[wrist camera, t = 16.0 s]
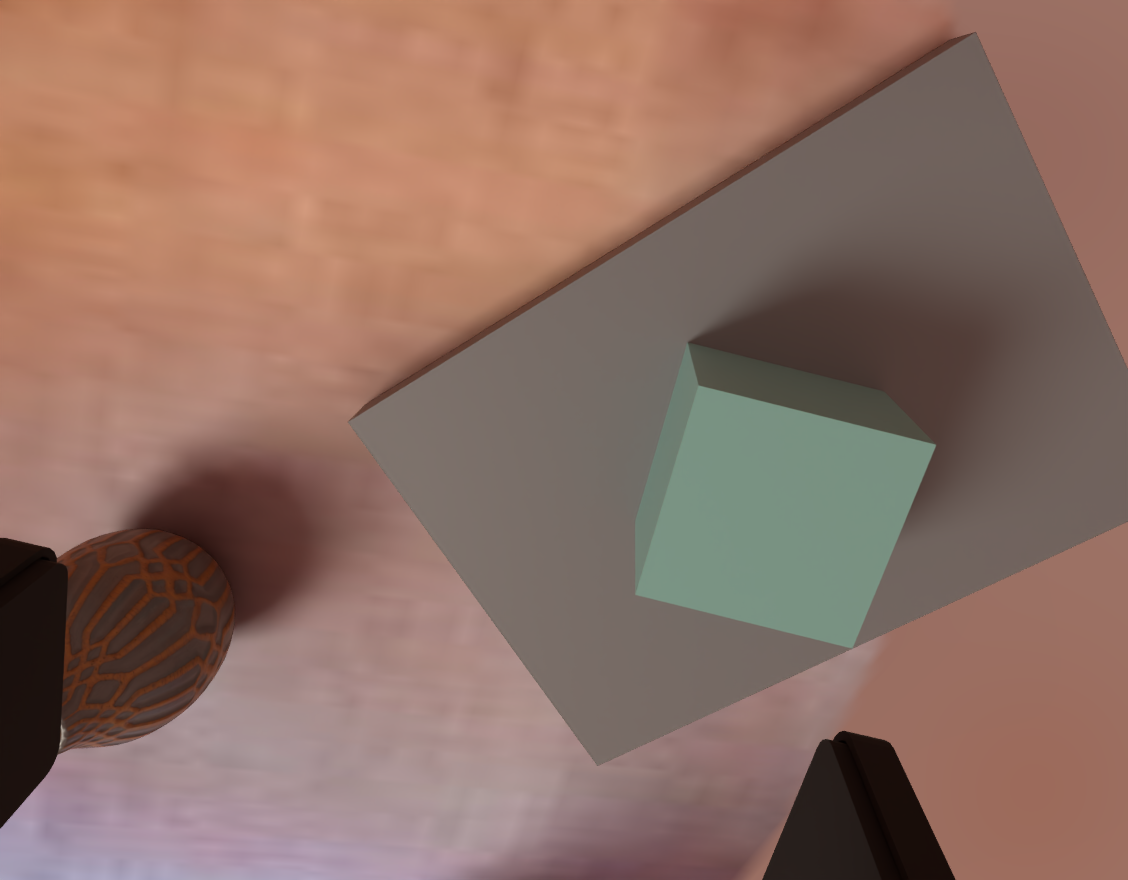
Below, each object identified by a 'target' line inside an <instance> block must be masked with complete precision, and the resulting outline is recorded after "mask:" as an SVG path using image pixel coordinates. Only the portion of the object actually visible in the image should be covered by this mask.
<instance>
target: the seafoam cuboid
mask: <svg viewBox="0 0 1128 880" xmlns="http://www.w3.org/2000/svg"><path fill="white" fill-rule="evenodd" d="M935 447H936V444H935V443H934V442H933V441H932V440H931V439H930V438H929V437H928V436H927V435H926V434H925V433H924V432H923V431H922V430H921V429H920V428H919V426H918V425H917V424H916V423H915V422H914V421H913V420H912V419H911V418H910V417H909V416H908V415H907V414H906V413H905V412H904V411H903V410H902V409H901V408H900V407H899V406H898V405H897V404H896V403H895V402H894V401H893V400H892V399H891V398H890V397H889V396H888V395H887V394H886V393H885V392H884V391H880V390H876V389H872V388H868V387H864V386H860V385H856V384H852V383H848V382H844V381H840V380H836V379H832V378H828V377H824V376H820V375H816V374H812V373H808V372H804V371H800V370H796V369H792V368H788V367H784V366H780V365H776V364H772V363H768V362H764V361H760V360H756V359H752V358H748V357H744V356H740V355H736V354H732V353H728V352H724V351H720V350H716V349H712V348H708V347H704V346H700V345H696V344H692V343H688V342H687V345H686V349H685V352H684V356H683V359H682V363H681V366H680V369H679V373H678V376H677V380H676V383H675V386H674V390H673V393H672V397H671V400H670V404H669V407H668V410H667V414H666V417H665V421H664V424H663V428H662V431H661V434H660V438H659V441H658V445H657V448H656V452H655V455H654V458H653V462H652V465H651V469H650V472H649V475H648V479H647V482H646V486H645V489H644V493H643V496H642V499H641V503H640V506H639V510H638V513H637V517H636V520H635V595H638V596H642V597H646V598H650V599H654V600H658V601H662V602H666V603H670V604H674V605H678V606H683V607H687V608H691V609H695V610H699V611H703V612H707V613H711V614H715V615H719V616H723V617H727V618H731V619H735V620H739V621H743V622H747V623H751V624H755V625H759V626H763V627H767V628H771V629H775V630H779V631H783V632H787V633H791V634H796V635H800V636H804V637H808V638H812V639H816V640H820V641H824V642H828V643H832V644H836V645H840V646H844V647H848V648H853V646H854V644H855V641H856V639H857V636H858V634H859V631H860V629H861V627H862V624H863V622H864V619H865V617H866V614H867V612H868V610H869V607H870V605H871V602H872V600H873V597H874V595H875V593H876V590H877V588H878V585H879V583H880V580H881V578H882V576H883V573H884V571H885V568H886V566H887V563H888V561H889V559H890V556H891V554H892V551H893V549H894V546H895V544H896V542H897V539H898V537H899V534H900V532H901V529H902V527H903V525H904V522H905V520H906V517H907V515H908V512H909V510H910V508H911V505H912V503H913V500H914V498H915V495H916V493H917V491H918V488H919V486H920V483H921V481H922V478H923V476H924V474H925V471H926V469H927V466H928V464H929V461H930V459H931V457H932V454H933V452H934V449H935Z"/></svg>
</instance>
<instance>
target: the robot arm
mask: <svg viewBox="0 0 1128 880" xmlns="http://www.w3.org/2000/svg"><path fill="white" fill-rule="evenodd" d="M67 590H68V570H67V568H66V566H65V565H63V564H61V563H57V557H56V555H55V552H54V551H53V550H51V549H50V548H47V547H42V546H38V545H34V544H29V543H25V542H21V541H16V540H12V539H8V538H0V828H1V827H2V826H3V825H4V824H5V823H6V822H7V820H8V819H9V818H10V817H11V816H12V815H13V813H14V812H15V811H16V810H17V809H18V808H19V807H20V805H21V804H22V803H23V802H24V801H25V800H26V798H27V797H28V796H29V795H30V794H31V793H32V792H33V790H34V789H35V788H36V787H37V786H38V785H39V784H40V782H41V781H42V780H43V779H44V778H45V776H46V775H47V774H48V772H49V771H50V769H51V767H52V766H53V764H54V762H55V759H56V757H57V754H58V751H59V747H60V737H61V716H62V695H63V674H64V653H65V632H66V611H67ZM762 880H955V878H954V876H953V874H952V871H951V869H950V867H949V865H948V863H947V861H946V858H945V856H944V854H943V852H942V850H941V848H940V846H939V844H938V841H937V839H936V837H935V835H934V833H933V831H932V829H931V826H930V825H929V822H928V820H927V818H926V816H925V814H924V812H923V809H922V807H921V805H920V803H919V801H918V799H917V797H916V795H915V792H914V790H913V788H912V786H911V784H910V782H909V780H908V778H907V775H906V773H905V771H904V769H903V767H902V765H901V763H900V761H899V758H898V756H897V755H896V752H895V750H894V748H893V747H892V745H891V744H890V743H889V742H887V741H885V740H882V739H877V738H872V737H868V736H864V735H859V734H855V733H851V732H846V731H842V732H839V733H838V734H837V735H836V736H835V737H834V739H833V741H832V740H828V739H825V740H822V741H821V742H820V744H819V745H818V747H817V749H816V752H815V754H814V757H813V759H812V761H811V764H810V766H809V769H808V771H807V773H806V776H805V778H804V781H803V783H802V785H801V788H800V790H799V793H798V795H797V797H796V800H795V802H794V805H793V807H792V810H791V812H790V814H789V817H788V819H787V822H786V824H785V826H784V829H783V831H782V834H781V836H780V838H779V841H778V843H777V846H776V848H775V850H774V853H773V855H772V858H771V860H770V863H769V865H768V867H767V870H766V872H765V875H764V877H763V879H762Z"/></svg>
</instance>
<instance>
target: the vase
mask: <svg viewBox="0 0 1128 880" xmlns="http://www.w3.org/2000/svg"><path fill="white" fill-rule="evenodd" d="M57 563H61V564H63V565H65V566H66V568H67V570H68V590H67V611H66V632H65V653H64V674H63V695H62V716H61V737H60V747H59V751H58V754H60V753H63V752H65V751H67V750H70V749H76V748H95V747H105V746H113V745H118V744H123V743H126V742H130V741H133V740H136V739H138V738H141V737H143V736H146V735H148V734H150V733H152V732H154V731H156V730H157V729H159V728H161V727H162V726H164V725H166V724H167V723H169V722H170V721H172V720H173V719H175V718H176V717H177V716H179V715H180V714H182V713H183V712H184V711H185V710H186V709H187V708H188V707H190V706H191V705H192V704H193V703H194V702H195V701H196V700H197V699H198V698H199V696H200V695H201V694H202V693H203V692H204V691H205V689H206V688H207V687H208V685H209V684H210V682H211V681H212V680H213V678H214V677H215V675H216V674H217V672H218V670H219V668H220V667H221V665H222V663H223V661H224V659H225V657H226V654H227V651H228V649H229V646H230V643H231V639H232V634H233V629H234V621H235V606H234V599H233V595H232V591H231V588H230V586H229V583H228V581H227V579H226V577H225V575H224V573H223V571H222V570H221V568H220V567H219V565H218V564H217V563H216V561H215V560H214V559H213V558H212V557H211V556H210V555H209V554H208V553H207V552H206V551H204V550H203V549H202V548H201V547H199V546H198V545H196V544H195V543H193V542H191V541H189V540H187V539H185V538H183V537H181V536H178V535H175V534H172V533H169V532H165V531H161V530H155V529H130V530H122V531H117V532H112V533H108V534H104V535H101V536H98V537H96V538H93V539H90V540H88V541H85V542H83V543H81V544H80V545H78V546H76V547H74V548H72V549H71V550H69V551H67V552H66V553H64V554H63V555H61V556H60V557H58V558H57ZM58 754H57V755H58Z"/></svg>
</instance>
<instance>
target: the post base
mask: <svg viewBox="0 0 1128 880" xmlns="http://www.w3.org/2000/svg"><path fill="white" fill-rule="evenodd" d="M687 342H688V343H692V344H696V345H700V346H704V347H708V348H712V349H716V350H720V351H724V352H728V353H732V354H736V355H740V356H744V357H748V358H752V359H756V360H760V361H764V362H768V363H772V364H776V365H780V366H784V367H788V368H792V369H796V370H800V371H804V372H808V373H812V374H816V375H820V376H824V377H828V378H832V379H836V380H840V381H844V382H848V383H852V384H856V385H860V386H864V387H868V388H872V389H876V390H880V391H884V392H885V393H886V394H887V395H888V396H889V397H890V398H891V399H892V400H893V401H894V402H895V403H896V404H897V405H898V406H899V407H900V408H901V409H902V410H903V411H904V412H905V413H906V414H907V415H908V416H909V417H910V418H911V419H912V420H913V421H914V422H915V423H916V424H917V425H918V426H919V428H920V429H921V430H922V431H923V432H924V433H925V434H926V435H927V436H928V437H929V438H930V439H931V440H932V441H933V442H934V443H935V444H936V447H935V449H934V452H933V454H932V457H931V459H930V461H929V464H928V466H927V469H926V471H925V474H924V476H923V478H922V481H921V483H920V486H919V488H918V491H917V493H916V495H915V498H914V500H913V503H912V505H911V508H910V510H909V512H908V515H907V517H906V520H905V522H904V525H903V527H902V529H901V532H900V534H899V537H898V539H897V542H896V544H895V546H894V549H893V551H892V554H891V556H890V559H889V561H888V563H887V566H886V568H885V571H884V573H883V576H882V578H881V580H880V583H879V585H878V588H877V590H876V593H875V595H874V597H873V600H872V602H871V605H870V607H869V610H868V612H867V614H866V617H865V619H864V622H863V624H862V627H861V629H860V631H859V634H858V636H857V639H856V641H855V644H854V646H853V648H855V647H857V646H859V645H861V644H863V643H866V642H868V641H870V640H872V639H874V638H876V637H879V636H881V635H883V634H885V633H887V632H889V631H892V630H894V629H896V628H898V627H900V626H902V625H905V624H907V623H909V622H911V621H913V620H915V619H918V618H920V617H922V616H924V615H926V614H929V613H931V612H933V611H935V610H937V609H939V608H942V607H944V606H946V605H948V604H950V603H952V602H954V601H957V600H959V599H961V598H963V597H965V596H968V595H970V594H972V593H974V592H976V591H978V590H981V589H983V588H985V587H987V586H989V585H991V584H994V583H996V582H998V581H1000V580H1002V579H1004V578H1006V577H1009V576H1011V575H1013V574H1015V573H1017V572H1020V571H1022V570H1024V569H1026V568H1028V567H1031V566H1033V565H1035V564H1037V563H1039V562H1041V561H1043V560H1046V559H1048V558H1050V557H1052V556H1054V555H1056V554H1059V553H1061V552H1063V551H1065V550H1067V549H1069V548H1072V547H1074V546H1076V545H1078V544H1080V543H1082V542H1085V541H1087V540H1089V539H1091V538H1093V537H1096V536H1098V535H1100V534H1102V533H1104V532H1106V531H1109V530H1111V529H1113V528H1115V527H1117V526H1119V525H1122V524H1124V523H1126V522H1128V368H1127V367H1126V364H1125V362H1124V360H1123V357H1122V355H1121V353H1120V351H1119V349H1118V346H1117V344H1116V342H1115V340H1114V337H1113V335H1112V333H1111V331H1110V328H1109V326H1108V324H1107V322H1106V320H1105V318H1104V315H1103V313H1102V311H1101V309H1100V306H1099V304H1098V302H1097V300H1096V298H1095V295H1094V293H1093V291H1092V289H1091V286H1090V284H1089V282H1088V280H1087V278H1086V275H1085V273H1084V271H1083V269H1082V266H1081V264H1080V262H1079V260H1078V258H1077V255H1076V253H1075V251H1074V249H1073V246H1072V244H1071V242H1070V240H1069V238H1068V235H1067V233H1066V231H1065V229H1064V227H1063V224H1062V222H1061V220H1060V218H1059V216H1058V213H1057V211H1056V209H1055V207H1054V204H1053V202H1052V200H1051V198H1050V195H1049V193H1048V191H1047V189H1046V187H1045V184H1044V182H1043V180H1042V178H1041V176H1040V173H1039V171H1038V169H1037V167H1036V164H1035V162H1034V160H1033V158H1032V155H1031V153H1030V151H1029V149H1028V147H1027V144H1026V142H1025V140H1024V138H1023V136H1022V133H1021V131H1020V129H1019V127H1018V124H1017V122H1016V120H1015V118H1014V116H1013V113H1012V111H1011V109H1010V107H1009V105H1008V102H1007V101H1006V98H1005V96H1004V93H1003V92H1002V89H1001V87H1000V84H999V82H998V80H997V78H996V76H995V73H994V71H993V69H992V67H991V65H990V62H989V60H988V58H987V56H986V54H985V51H984V49H983V47H982V45H981V42H980V40H979V38H978V36H977V33H976V32H974V33H971V34H967V35H964V36H961V37H957V38H954V39H951V40H949V41H948V42H946V43H944V44H943V45H941V46H940V47H938V48H936V49H935V50H933V51H932V52H930V53H928V54H927V55H925V56H924V57H922V58H920V59H919V60H917V61H915V62H914V63H912V64H911V65H909V66H907V67H906V68H904V69H903V70H901V71H899V72H898V73H896V74H895V75H893V76H891V77H890V78H888V79H887V80H885V81H883V82H882V83H880V84H879V85H877V86H875V87H874V88H872V89H871V90H869V91H867V92H866V93H864V94H863V95H861V96H859V97H858V98H856V99H855V100H853V101H851V102H850V103H848V104H847V105H845V106H843V107H842V108H840V109H839V110H837V111H835V112H834V113H832V114H830V115H829V116H827V117H826V118H824V119H822V120H821V121H819V122H818V123H816V124H814V125H813V126H811V127H810V128H808V129H806V130H805V131H803V132H802V133H800V134H798V135H797V136H795V137H794V138H792V139H790V140H789V141H787V142H786V143H784V144H782V145H781V146H779V147H778V148H776V149H774V150H773V151H771V152H770V153H768V154H766V155H765V156H763V157H762V158H760V159H758V160H757V161H755V162H754V163H752V164H750V165H749V166H747V167H746V168H744V169H742V170H741V171H739V172H737V173H736V174H734V175H733V176H731V177H729V178H728V179H726V180H725V181H723V182H721V183H720V184H718V185H717V186H715V187H713V188H712V189H710V190H709V191H707V192H705V193H704V194H702V195H701V196H699V197H697V198H696V199H694V200H693V201H691V202H689V203H688V204H686V205H685V206H683V207H681V208H680V209H678V210H677V211H675V212H673V213H672V214H670V215H669V216H667V217H665V218H664V219H662V220H661V221H659V222H657V223H656V224H654V225H652V226H651V227H649V228H648V229H646V230H644V231H643V232H641V233H640V234H638V235H636V236H635V237H633V238H632V239H630V240H628V241H627V242H625V243H624V244H622V245H620V246H619V247H617V248H616V249H614V250H612V251H611V252H609V253H608V254H606V255H604V256H603V257H601V258H600V259H598V260H596V261H595V262H593V263H592V264H590V265H588V266H587V267H585V268H584V269H582V270H580V271H579V272H577V273H576V274H574V275H572V276H571V277H569V278H567V279H566V280H564V281H563V282H561V283H559V284H558V285H556V286H555V287H553V288H551V289H550V290H548V291H547V292H545V293H543V294H542V295H540V296H539V297H537V298H535V299H534V300H532V301H531V302H529V303H527V304H526V305H524V306H523V307H521V308H519V309H518V310H516V311H515V312H513V313H511V314H510V315H508V316H507V317H505V318H503V319H502V320H500V321H499V322H497V323H495V324H494V325H492V326H491V327H489V328H487V329H486V330H484V331H483V332H481V333H479V334H478V335H476V336H474V337H473V338H471V339H470V340H468V341H466V342H465V343H463V344H462V345H460V346H458V347H457V348H455V349H454V350H452V351H450V352H449V353H447V354H446V355H444V356H442V357H441V358H439V359H438V360H436V361H434V362H433V363H431V364H430V365H428V366H426V367H425V368H423V369H422V370H420V371H418V372H417V373H415V374H414V375H412V376H410V377H409V378H407V379H406V380H404V381H402V382H401V383H399V384H398V385H396V386H394V387H393V388H391V389H389V390H388V391H386V392H385V393H383V394H381V395H380V396H378V397H377V398H375V399H373V400H372V401H370V402H369V403H367V404H365V405H364V406H363V407H362V408H361V409H360V410H359V411H358V412H357V413H356V414H355V415H354V416H353V417H352V418H351V419H350V420H349V421H348V423H349V424H350V426H351V427H352V428H353V430H354V431H355V433H356V434H357V435H358V437H359V438H360V439H361V441H362V442H363V444H364V445H365V446H366V448H367V449H368V450H369V452H370V453H371V455H372V456H373V457H374V459H375V460H376V461H377V463H378V464H379V466H380V467H381V468H382V470H383V471H384V472H385V474H386V475H387V477H388V478H389V479H390V481H391V482H392V484H393V485H394V486H395V488H396V489H397V490H398V492H399V493H400V495H401V496H402V497H403V499H404V500H405V501H406V503H407V504H408V506H409V507H410V508H411V510H412V511H413V512H414V514H415V515H416V517H417V518H418V519H419V521H420V522H421V523H422V525H423V526H424V528H425V529H426V530H427V532H428V533H429V534H430V536H431V537H432V539H433V540H434V541H435V543H436V544H437V545H438V547H439V548H440V550H441V551H442V552H443V554H444V555H445V557H446V558H447V559H448V561H449V562H450V563H451V565H452V566H453V568H454V569H455V570H456V572H457V573H458V574H459V576H460V577H461V579H462V580H463V581H464V583H465V584H466V585H467V587H468V588H469V590H470V591H471V592H472V594H473V595H474V596H475V598H476V599H477V601H478V602H479V603H480V605H481V606H482V607H483V609H484V610H485V612H486V613H487V614H488V616H489V617H490V618H491V620H492V621H493V623H494V624H495V625H496V627H497V628H498V630H499V631H500V632H501V634H502V635H503V636H504V638H505V639H506V641H507V642H508V643H509V645H510V646H511V647H512V649H513V650H514V652H515V653H516V654H517V656H518V657H519V658H520V660H521V661H522V663H523V664H524V665H525V667H526V668H527V669H528V671H529V672H530V674H531V675H532V676H533V678H534V679H535V680H536V682H537V683H538V685H539V686H540V687H541V689H542V690H543V691H544V693H545V694H546V696H547V697H548V698H549V700H550V701H551V703H552V704H553V705H554V707H555V708H556V709H557V711H558V712H559V714H560V715H561V716H562V718H563V719H564V720H565V722H566V723H567V725H568V726H569V727H570V729H571V730H572V731H573V733H574V734H575V736H576V737H577V738H578V740H579V741H580V742H581V744H582V745H583V747H584V748H585V749H586V751H587V752H588V753H589V755H590V756H591V758H592V759H593V760H594V762H595V763H596V765H597V766H599V765H601V764H603V763H605V762H607V761H610V760H612V759H614V758H616V757H618V756H620V755H623V754H625V753H627V752H629V751H631V750H633V749H636V748H638V747H640V746H642V745H644V744H646V743H649V742H651V741H653V740H655V739H657V738H659V737H662V736H664V735H666V734H668V733H670V732H673V731H675V730H677V729H679V728H681V727H683V726H686V725H688V724H690V723H692V722H694V721H696V720H699V719H701V718H703V717H705V716H707V715H709V714H712V713H714V712H716V711H718V710H720V709H722V708H725V707H727V706H729V705H731V704H733V703H735V702H738V701H740V700H742V699H744V698H746V697H748V696H751V695H753V694H755V693H757V692H759V691H761V690H764V689H766V688H768V687H770V686H772V685H774V684H777V683H779V682H781V681H783V680H785V679H788V678H790V677H792V676H794V675H796V674H798V673H801V672H803V671H805V670H807V669H809V668H811V667H814V666H816V665H818V664H820V663H822V662H824V661H827V660H829V659H831V658H833V657H835V656H837V655H840V654H842V653H844V652H846V651H848V650H850V649H853V648H848V647H844V646H840V645H836V644H832V643H828V642H824V641H820V640H816V639H812V638H808V637H804V636H800V635H796V634H791V633H787V632H783V631H779V630H775V629H771V628H767V627H763V626H759V625H755V624H751V623H747V622H743V621H739V620H735V619H731V618H727V617H723V616H719V615H715V614H711V613H707V612H703V611H699V610H695V609H691V608H687V607H683V606H678V605H674V604H670V603H666V602H662V601H658V600H654V599H650V598H646V597H642V596H638V595H635V520H636V517H637V513H638V510H639V506H640V503H641V499H642V496H643V493H644V489H645V486H646V482H647V479H648V475H649V472H650V469H651V465H652V462H653V458H654V455H655V452H656V448H657V445H658V441H659V438H660V434H661V431H662V428H663V424H664V421H665V417H666V414H667V410H668V407H669V404H670V400H671V397H672V393H673V390H674V386H675V383H676V380H677V376H678V373H679V369H680V366H681V363H682V359H683V356H684V352H685V349H686V345H687Z"/></svg>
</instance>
